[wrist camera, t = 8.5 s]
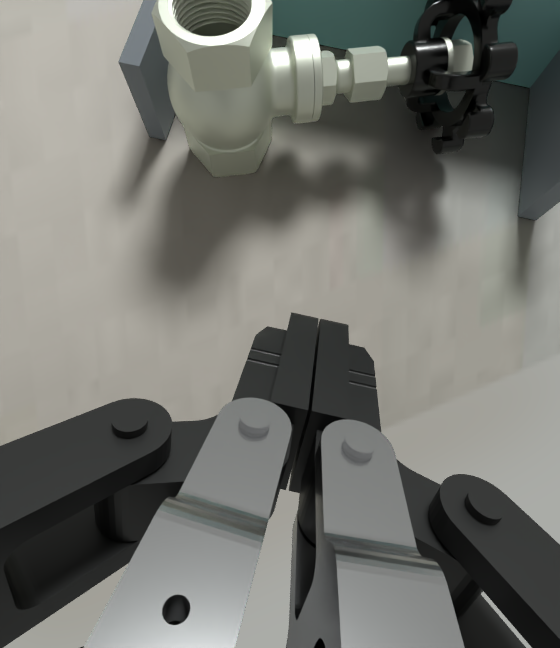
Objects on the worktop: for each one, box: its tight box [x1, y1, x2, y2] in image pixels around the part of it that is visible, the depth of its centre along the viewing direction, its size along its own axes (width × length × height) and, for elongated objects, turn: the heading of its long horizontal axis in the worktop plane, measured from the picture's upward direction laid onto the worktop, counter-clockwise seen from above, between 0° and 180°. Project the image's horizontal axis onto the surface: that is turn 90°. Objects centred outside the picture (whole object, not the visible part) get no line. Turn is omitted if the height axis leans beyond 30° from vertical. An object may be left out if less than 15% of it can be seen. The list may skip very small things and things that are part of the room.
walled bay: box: [119, 0, 560, 220], centre depth 17 cm, size 18×8×6 cm, turn 77°
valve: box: [151, 0, 518, 177], centre depth 16 cm, size 7×7×12 cm
